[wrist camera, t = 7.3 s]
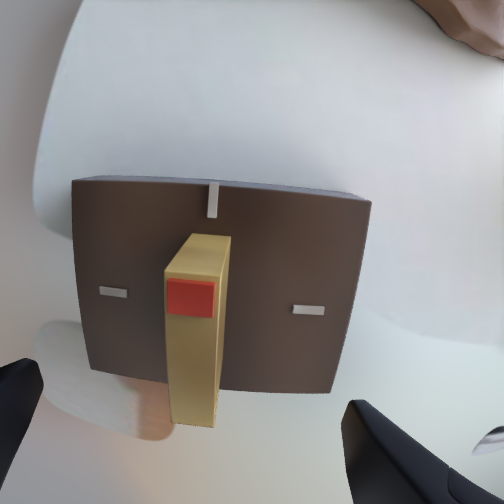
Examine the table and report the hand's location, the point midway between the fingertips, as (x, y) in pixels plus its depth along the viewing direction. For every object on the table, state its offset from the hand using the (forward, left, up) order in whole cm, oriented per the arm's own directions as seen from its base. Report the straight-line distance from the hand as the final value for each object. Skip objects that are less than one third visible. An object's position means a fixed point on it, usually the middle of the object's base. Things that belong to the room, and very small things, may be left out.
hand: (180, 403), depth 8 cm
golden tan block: (0, 0, -6) cm, 6 cm away
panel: (0, 0, -10) cm, 10 cm away
